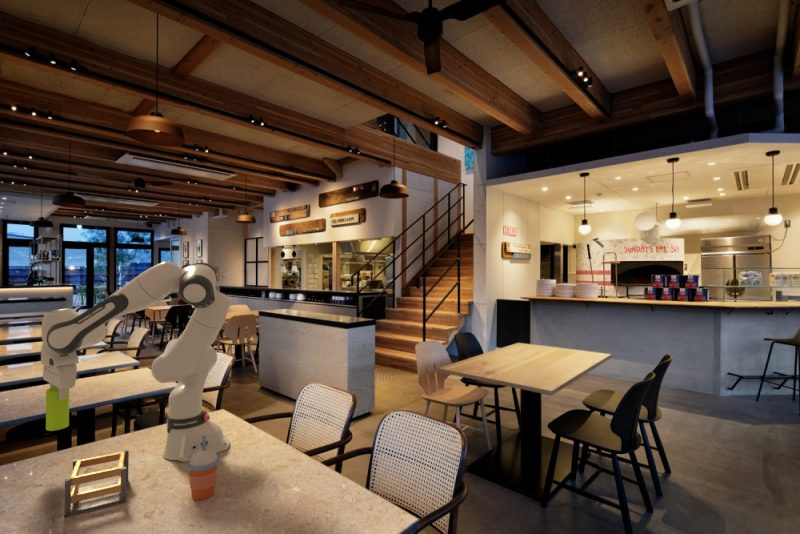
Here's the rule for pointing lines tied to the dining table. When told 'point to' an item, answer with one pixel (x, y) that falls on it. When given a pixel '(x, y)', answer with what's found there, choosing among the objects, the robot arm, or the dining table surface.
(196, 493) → the cup with straw
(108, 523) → the dining table surface
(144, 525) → the dining table surface
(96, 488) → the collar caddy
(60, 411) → the soap dispenser
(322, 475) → the dining table surface
